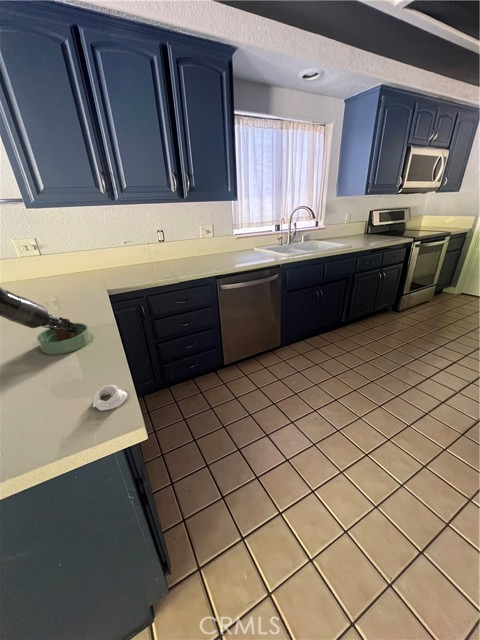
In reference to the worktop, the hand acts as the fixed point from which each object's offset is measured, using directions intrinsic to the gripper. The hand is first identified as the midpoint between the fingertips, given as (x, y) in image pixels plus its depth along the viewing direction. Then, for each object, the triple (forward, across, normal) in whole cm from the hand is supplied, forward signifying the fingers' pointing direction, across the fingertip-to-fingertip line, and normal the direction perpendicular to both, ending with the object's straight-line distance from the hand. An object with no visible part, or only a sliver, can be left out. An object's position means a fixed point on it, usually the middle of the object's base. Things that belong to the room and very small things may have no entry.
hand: (66, 329), depth 94 cm
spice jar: (+2, 0, +4) cm, 5 cm away
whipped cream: (-13, -35, +21) cm, 43 cm away
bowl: (+3, 0, +5) cm, 6 cm away
